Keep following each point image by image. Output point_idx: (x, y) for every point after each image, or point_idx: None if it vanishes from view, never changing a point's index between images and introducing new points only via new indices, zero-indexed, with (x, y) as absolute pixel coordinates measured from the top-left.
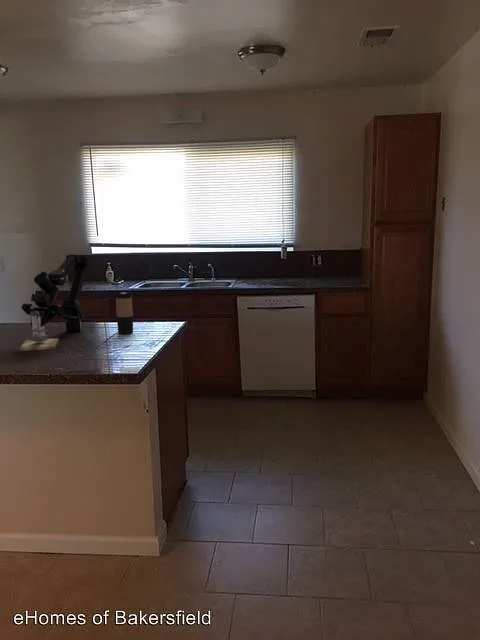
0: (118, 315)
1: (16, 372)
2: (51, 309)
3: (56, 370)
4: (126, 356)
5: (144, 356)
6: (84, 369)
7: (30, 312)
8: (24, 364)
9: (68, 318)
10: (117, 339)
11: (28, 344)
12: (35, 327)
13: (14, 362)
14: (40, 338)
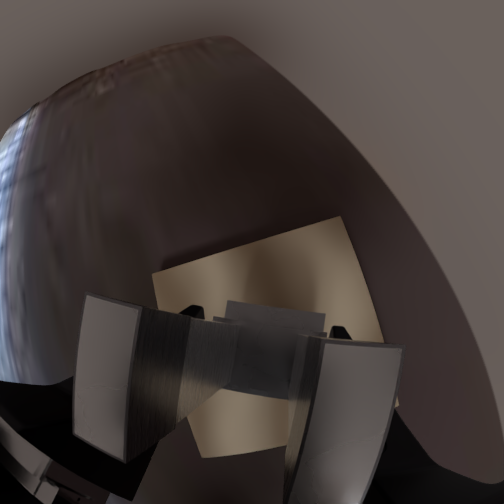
0: None
1: (203, 42)
2: (16, 486)
3: (111, 78)
4: None
5: None
6: (60, 106)
7: (440, 473)
8: (208, 78)
9: None
10: None
11: (334, 307)
12: (295, 357)
13: (254, 84)
14: (235, 302)
